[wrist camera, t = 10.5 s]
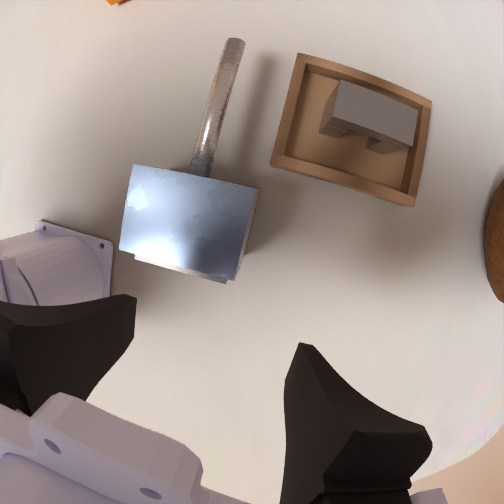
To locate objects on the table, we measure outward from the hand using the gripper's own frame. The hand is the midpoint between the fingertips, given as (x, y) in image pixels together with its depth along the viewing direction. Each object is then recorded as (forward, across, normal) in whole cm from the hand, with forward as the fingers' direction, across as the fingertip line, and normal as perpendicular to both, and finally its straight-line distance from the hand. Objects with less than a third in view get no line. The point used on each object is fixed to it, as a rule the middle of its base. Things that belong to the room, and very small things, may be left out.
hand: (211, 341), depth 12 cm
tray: (+10, -6, -12) cm, 17 cm away
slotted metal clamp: (+10, -6, -12) cm, 17 cm away
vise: (+10, +4, -8) cm, 14 cm away
